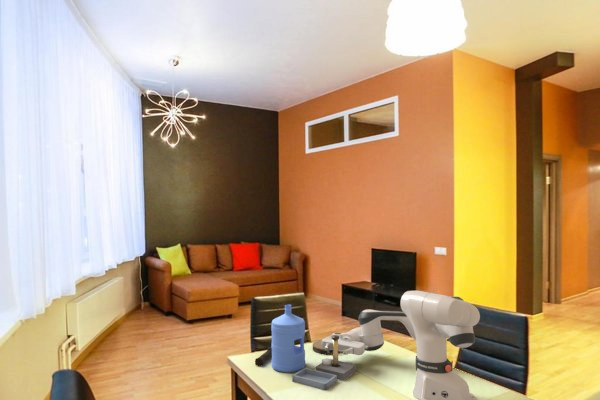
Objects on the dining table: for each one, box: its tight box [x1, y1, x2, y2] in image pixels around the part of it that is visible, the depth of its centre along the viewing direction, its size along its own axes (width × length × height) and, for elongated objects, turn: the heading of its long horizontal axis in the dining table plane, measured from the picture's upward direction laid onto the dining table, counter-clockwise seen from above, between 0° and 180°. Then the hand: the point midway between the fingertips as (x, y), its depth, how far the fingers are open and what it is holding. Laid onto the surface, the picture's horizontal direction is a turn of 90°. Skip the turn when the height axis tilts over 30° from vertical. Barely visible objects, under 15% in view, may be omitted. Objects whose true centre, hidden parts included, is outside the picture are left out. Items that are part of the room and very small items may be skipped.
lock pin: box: [331, 335, 339, 368], centre depth 177 cm, size 3×3×16 cm
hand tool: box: [254, 345, 272, 367], centre depth 194 cm, size 19×4×5 cm, turn 159°
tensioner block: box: [314, 357, 357, 381], centre depth 177 cm, size 14×12×4 cm
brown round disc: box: [312, 339, 342, 356], centre depth 208 cm, size 16×16×3 cm
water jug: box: [270, 303, 306, 373], centre depth 185 cm, size 16×16×28 cm
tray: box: [291, 367, 338, 391], centre depth 168 cm, size 16×10×2 cm, turn 57°
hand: (335, 350), depth 177 cm, fingers open, 8 cm apart
